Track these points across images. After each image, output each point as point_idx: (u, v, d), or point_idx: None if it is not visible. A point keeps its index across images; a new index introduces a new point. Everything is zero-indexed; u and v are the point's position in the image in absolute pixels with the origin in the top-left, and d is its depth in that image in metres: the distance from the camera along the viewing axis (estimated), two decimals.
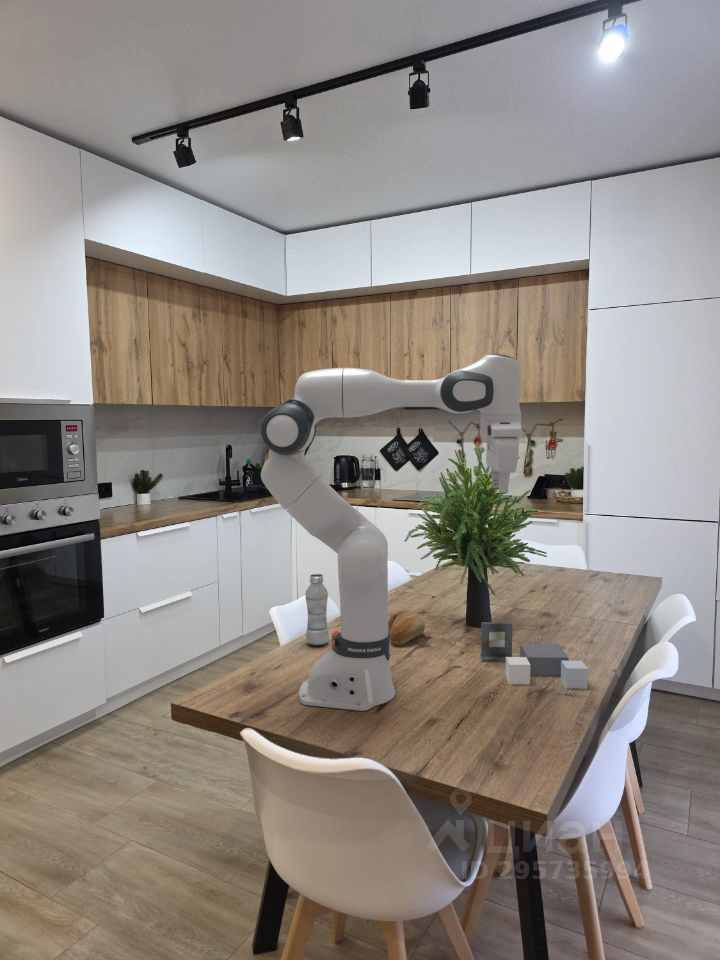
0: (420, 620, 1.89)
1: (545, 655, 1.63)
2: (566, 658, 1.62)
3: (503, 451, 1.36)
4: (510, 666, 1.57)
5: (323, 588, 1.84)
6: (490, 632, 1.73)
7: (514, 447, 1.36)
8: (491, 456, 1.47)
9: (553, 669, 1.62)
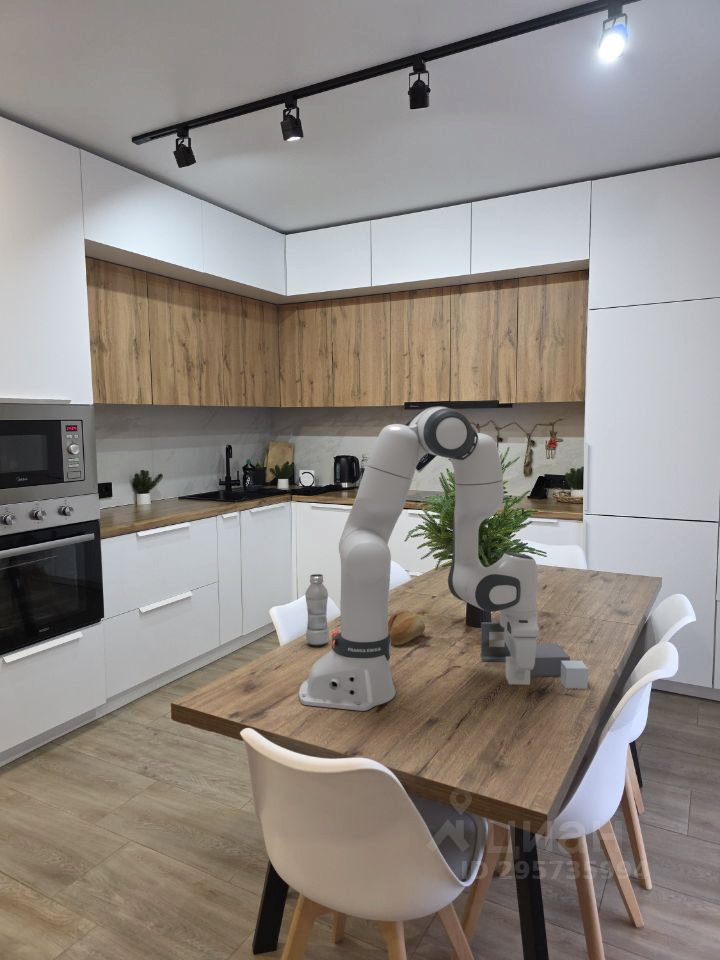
0: (420, 620, 1.89)
1: (547, 655, 1.63)
2: (567, 657, 1.62)
3: (522, 651, 1.49)
4: (510, 666, 1.57)
5: (323, 588, 1.84)
6: (490, 632, 1.73)
7: (532, 647, 1.49)
8: (510, 642, 1.60)
9: (554, 669, 1.62)
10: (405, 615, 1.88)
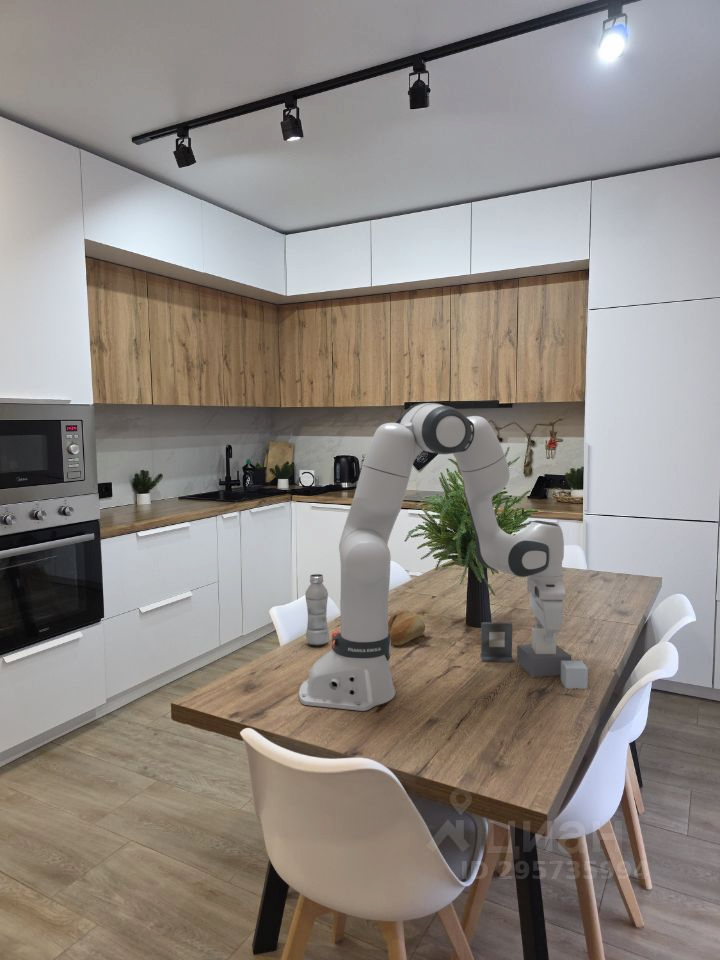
0: (420, 621, 1.89)
1: (549, 656, 1.63)
2: (569, 657, 1.63)
3: (550, 613, 1.56)
4: (537, 636, 1.64)
5: (323, 588, 1.84)
6: (490, 632, 1.73)
7: (559, 610, 1.56)
8: (536, 607, 1.67)
9: (557, 669, 1.63)
10: (405, 615, 1.87)
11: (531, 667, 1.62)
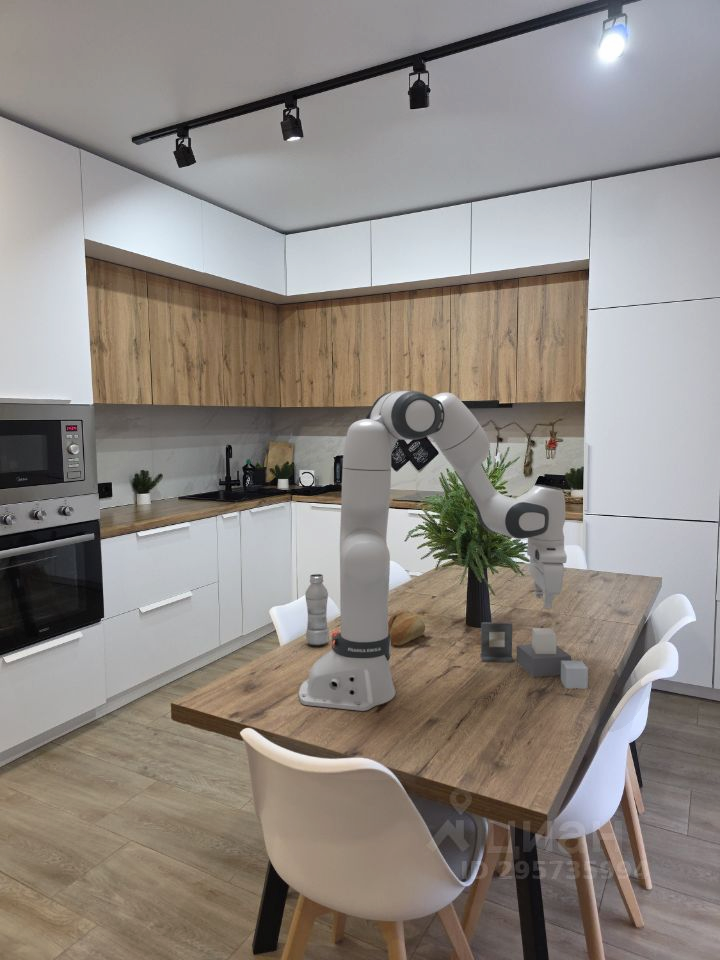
0: (420, 621, 1.88)
1: (549, 656, 1.63)
2: (569, 657, 1.63)
3: (550, 576, 1.55)
4: (537, 636, 1.64)
5: (323, 588, 1.84)
6: (490, 632, 1.73)
7: (559, 573, 1.55)
8: (536, 572, 1.66)
9: (556, 669, 1.63)
10: (405, 615, 1.87)
11: (531, 667, 1.62)
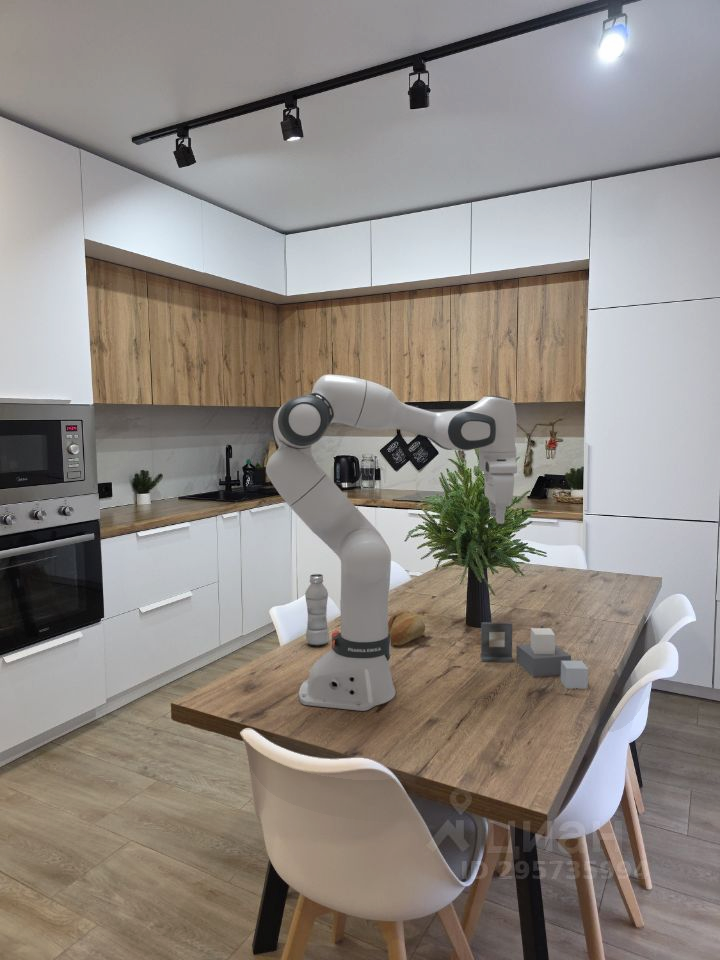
0: (420, 621, 1.88)
1: (548, 655, 1.63)
2: (568, 656, 1.63)
3: (500, 487, 1.49)
4: (535, 636, 1.64)
5: (323, 588, 1.84)
6: (490, 632, 1.73)
7: (510, 483, 1.49)
8: (489, 489, 1.60)
9: (556, 668, 1.63)
10: (405, 615, 1.87)
11: (531, 667, 1.63)
